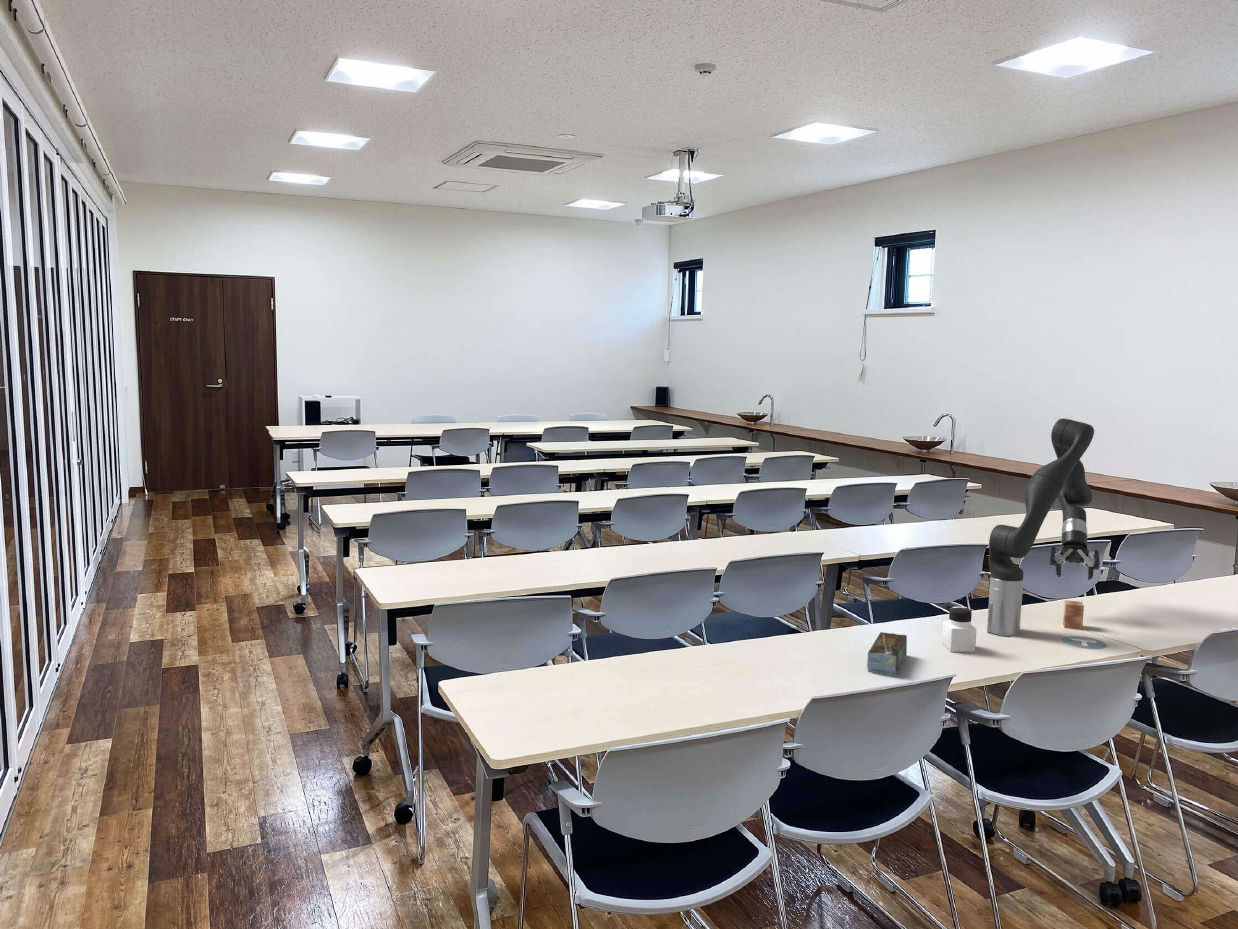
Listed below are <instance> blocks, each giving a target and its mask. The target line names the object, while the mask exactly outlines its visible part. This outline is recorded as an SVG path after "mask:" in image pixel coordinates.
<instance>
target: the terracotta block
mask: <svg viewBox="0 0 1238 929" xmlns="http://www.w3.org/2000/svg"><path fill="white" fill-rule="evenodd" d="M1084 611H1085V605H1084V603H1083V601H1077V600H1068V599H1067V600H1066V599H1065V600H1064V604H1063V621H1062V622H1063V623H1062V624H1063V628H1064V629H1068V630H1069V629H1070V630H1078V631H1083V627H1084V626H1083V625H1084Z"/></svg>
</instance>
